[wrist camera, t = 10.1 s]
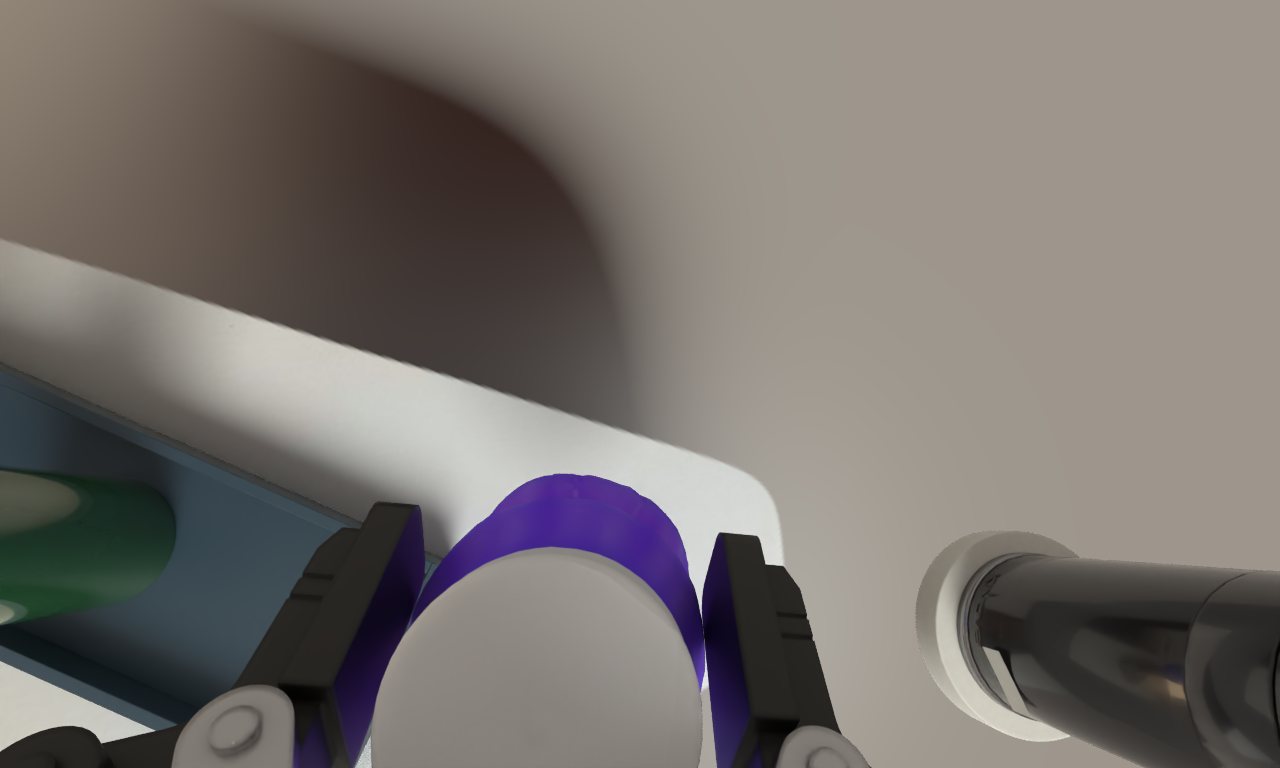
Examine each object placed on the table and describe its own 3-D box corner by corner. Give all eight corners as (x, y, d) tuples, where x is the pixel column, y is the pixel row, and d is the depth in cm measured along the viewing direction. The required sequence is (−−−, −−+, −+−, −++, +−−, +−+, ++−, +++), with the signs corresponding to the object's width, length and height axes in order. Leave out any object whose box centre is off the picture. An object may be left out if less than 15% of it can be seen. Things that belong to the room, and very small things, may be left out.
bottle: (611, 701, 23) (682, 1164, 6) (471, 654, 23) (168, 1000, 6) (667, 517, 25) (838, 500, 8) (537, 473, 25) (437, 366, 8)
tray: (454, 563, 32) (443, 567, 30) (347, 783, 30) (325, 807, 27) (-93, 320, 33) (-149, 303, 30) (-249, 516, 30) (-326, 515, 27)
